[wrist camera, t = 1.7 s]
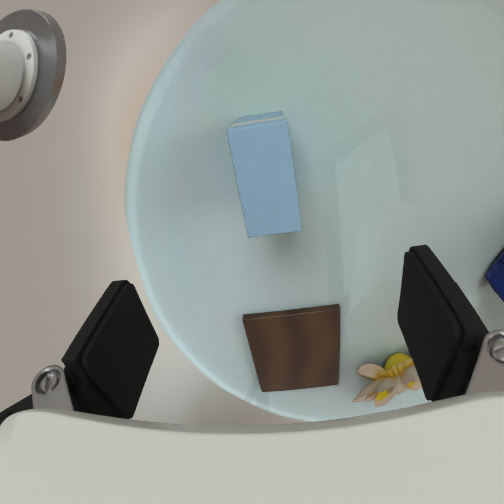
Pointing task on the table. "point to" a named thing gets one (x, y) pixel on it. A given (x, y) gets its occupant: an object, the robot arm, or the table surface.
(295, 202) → the box
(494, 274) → the book
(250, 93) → the table surface
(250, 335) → the brown wooden board
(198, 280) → the table surface
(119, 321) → the robot arm
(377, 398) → the decorative flower
